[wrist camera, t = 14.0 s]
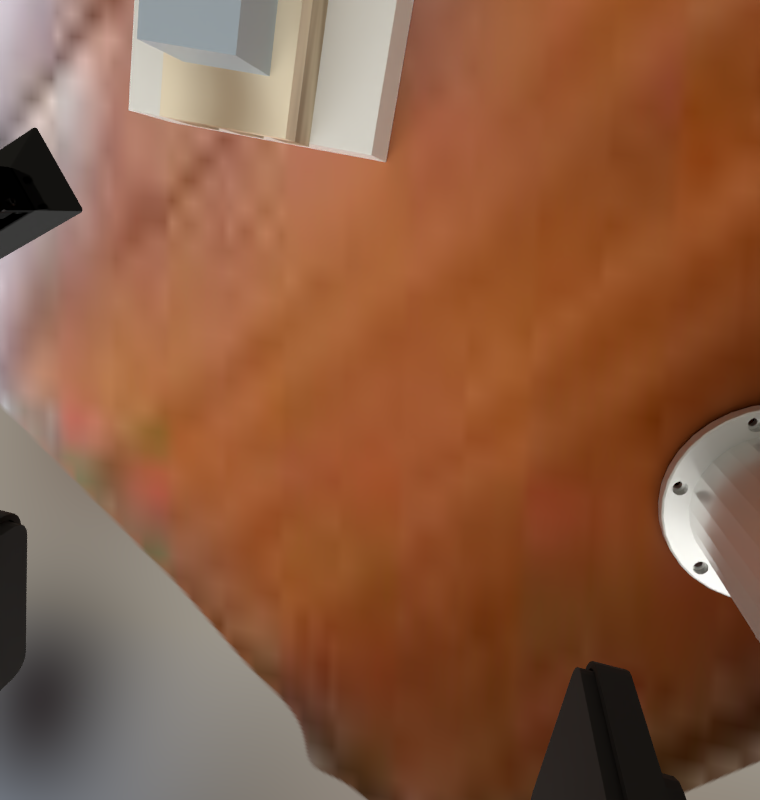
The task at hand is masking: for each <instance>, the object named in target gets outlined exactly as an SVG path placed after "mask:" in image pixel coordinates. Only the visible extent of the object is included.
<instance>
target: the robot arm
mask: <svg viewBox="0 0 760 800" xmlns="http://www.w3.org/2000/svg"><path fill="white" fill-rule="evenodd" d="M753 418H754V421H753V423H751V424H748V422H749V421H750V420H751V419H753ZM677 482H680V484H679V485H677V486H673V485H674V484H675V483H677ZM658 513H659V522H660V526H661V529H662V533H663V536H664V538H665V540H666V542H667V544H668V546H669V549H670V551H671V552H672V554H673V555H674V557H675V558H676V559H677V561H678V562H679V564H680V565H681V566H682V567H683V568H684V570H685V571H686V572H687V573H688V574H689V575H690V576H692V577H693V578H694V579H696V580H697V581H699V582H700V583H702V584H703V585H705V586H706V587H708V588H709V589H712V590H714V591H716V592H719V593H721V594H723V595H726V596H728V597H731V598H732V599H733V601H734V602H735V604H736V605H737V607H738V609H739V610H740V612H741V613H742V615H743V617H744V618H745V620H746V621H747V623H748V624H749V626H750V628H751V629H752V631H753V632H754V634H755V636H756V637H757V639H758V640H759V642H760V405H756V406H751V407H748V408H744V409H741V410H738V411H735V412H731V413H729V414H727V415H725V416H723V417H721V418H719V419H717V420H715V421H713V422H711V423H710V424H708V425H707V426H705V427H704V428H703V429H701V430H700V431H698V432H697V433H696V434H694V435H693V436H692V437H691V438H690V439H689V440H688V441H687V442H686V443H685V444H684V445H683V446H682V448H681V449H680V450H679V451H678V452H677V454H676V455H675V457H674V458H673V460H672V462H671V463H670V465H669V466H668V468H667V471H666V473H665V476H664V478H663V481H662V483H661V488H660V493H659V499H658ZM697 562H699V563H697ZM26 574H27V530H26V528H25V526H23V525H21V523H20V519H19V517H18V516H17V515H15V514H13V513H9V512H5V511H1V510H0V690H1V689H2V688H3V687H4V686H5V685H6V684H7V683H8V682H10V681H11V680H12V678H14V676H15V675H16V674H17V673H18V671H19V669H20V668H21V666H22V664H23V662H24V658H25V653H26V579H27V577H26V576H27V575H26ZM531 800H686V797H685V794H684V792H683V789H682V787H681V785H680V783H679V781H678V780H677V779H676V778H675V777H674V776H670V775H666V774H663V773H661V769H660V766H659V763H658V760H657V757H656V753H655V750H654V747H653V744H652V741H651V737H650V734H649V731H648V728H647V724H646V721H645V718H644V715H643V712H642V708H641V705H640V702H639V699H638V696H637V692H636V689H635V686H634V683H633V679H632V676H631V674H630V672H629V671H627V670H625V669H621V668H617V667H613V666H609V665H606V664H602V663H598V662H594V661H591V662H589V664H588V665H587V667H586V669H582V668H578V667H577V668H575V670H574V672H573V674H572V677H571V680H570V683H569V686H568V689H567V692H566V695H565V698H564V701H563V704H562V707H561V710H560V713H559V716H558V719H557V722H556V724H555V727H554V730H553V733H552V736H551V739H550V742H549V745H548V748H547V751H546V754H545V757H544V760H543V763H542V766H541V769H540V772H539V775H538V778H537V781H536V784H535V787H534V790H533V793H532V797H531Z"/></svg>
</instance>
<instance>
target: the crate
mask: <svg viewBox="0 0 760 800" xmlns="http://www.w3.org/2000/svg"><path fill="white" fill-rule="evenodd" d="M277 5H278V0H139V10H138V29H137V39H138V40H140V41H142V42H144V43H146V44H148V45H150V46H152V47H154V48H157V49H159V50H161V51H163V52H165V53H167V54H169V55H171V56H173V57H175V58H177V59H179V60H181V61H183V62H188V63H194V64H200V65H206V66H212V67H218V68H224V69H229V70H235V71H241V72H247V73H253V74H259V75H265V76H270V68H271V59H272V50H273V41H274V32H275V23H276V14H277Z"/></svg>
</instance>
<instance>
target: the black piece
mask: <svg viewBox="0 0 760 800" xmlns="http://www.w3.org/2000/svg"><path fill="white" fill-rule="evenodd" d="M81 212H82V207H81V206H80V204H79V202H78V200H77V198H76V197H75V195H74V193H73V191H72V190H71V188H70V186H69V184H68V183H67V181H66V179H65V177H64V175H63V174H62V172H61V170H60V168H59V167H58V165H57V163H56V161H55V159H54V158H53V156H52V154H51V152H50V151H49V149H48V147H47V145H46V143H45V142H44V140H43V138H42V136H41V135H40V133H39V131H38V129H37V128H33V129H31V130H30V131H28V132H27V133H25V134H24V135H22V136H21V137H19V138H18V139H16V140H15V141H13V142H12V143H10V144H9V145H7V146H6V147H4V148H3V149H1V150H0V259H1V258H3V257H4V256H6V255H8V254H10V253H11V252H13V251H15V250H17V249H18V248H20V247H22V246H24V245H25V244H27V243H29V242H30V241H32V240H34V239H36V238H37V237H39V236H41V235H43V234H44V233H46V232H48V231H50V230H51V229H53V228H55V227H57V226H58V225H60V224H62V223H64V222H65V221H67V220H69V219H70V218H72V217H74V216H76V215H77V214H79V213H81Z"/></svg>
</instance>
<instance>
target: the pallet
mask: <svg viewBox="0 0 760 800" xmlns="http://www.w3.org/2000/svg"><path fill="white" fill-rule="evenodd" d="M327 7H328V0H278V5H277V14H276V23H275V32H274V41H273V50H272V59H271V68H270V76H265V75H259V74H253V73H247V72H241V71H235V70H229V69H224V68H218V67H212V66H206V65H200V64H194V63H188V62H183V61H181V60H179V59H177V58H175V57H173V56H171V55H169V54H167V53H165V52H164V53H163V69H162V84H161V99H160V114H159V116H162V117H165V118H169V119H172V120H176V121H179V122H183V123H186V124H190V125H193V126H197V127H202V128H207V129H213V130H218V131H219V128H220V129H224V130H228V131H231V132H234V133H237V134H241V135H246V136H251V137H257V138H262V139H264V137H270V138H273V139H276V140H279V141H282V142H285V143H290V144H295V145H301V146H306V147H309V142H310V134H311V127H312V119H313V112H314V104H315V97H316V89H317V82H318V74H319V67H320V60H321V52H322V45H323V37H324V30H325V22H326V15H327Z"/></svg>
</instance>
